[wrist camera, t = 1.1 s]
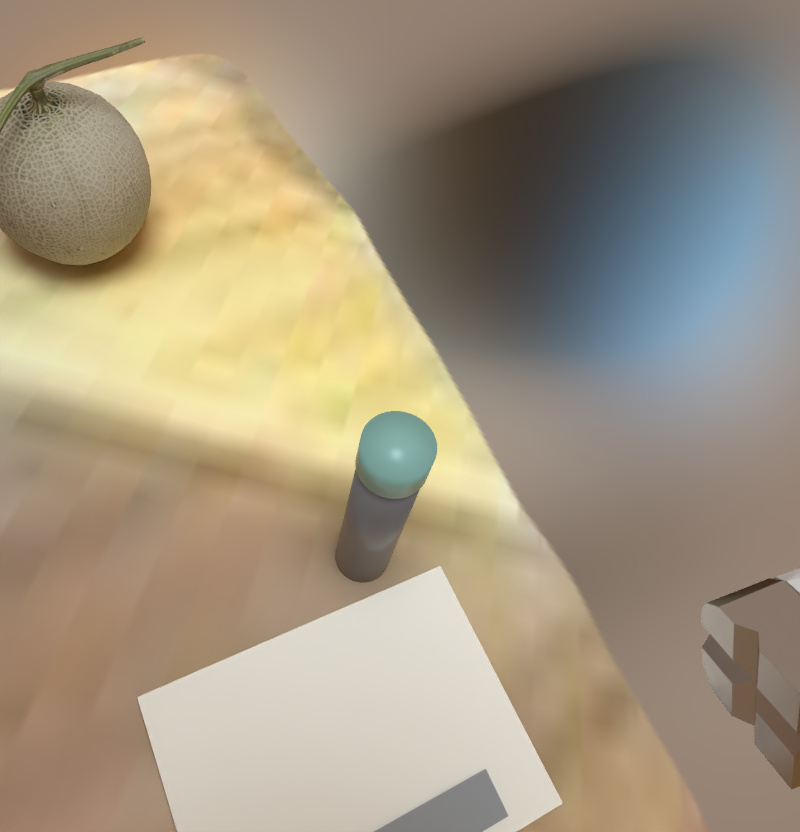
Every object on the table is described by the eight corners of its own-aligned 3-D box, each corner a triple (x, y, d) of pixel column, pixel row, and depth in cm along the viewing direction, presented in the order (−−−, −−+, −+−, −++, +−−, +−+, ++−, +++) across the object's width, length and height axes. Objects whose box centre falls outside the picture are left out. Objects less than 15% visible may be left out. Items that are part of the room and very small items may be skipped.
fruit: (-37, 265, 50) (-140, 64, 37) (69, 170, 56) (13, -30, 43) (95, 327, 49) (36, 142, 36) (188, 224, 55) (166, 35, 42)
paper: (138, 698, 37) (136, 696, 37) (438, 568, 44) (440, 564, 43) (229, 1005, 32) (229, 1007, 31) (560, 803, 38) (564, 803, 37)
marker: (325, 541, 43) (347, 424, 32) (375, 521, 45) (415, 401, 33) (347, 592, 42) (380, 490, 30) (399, 570, 43) (450, 463, 31)
